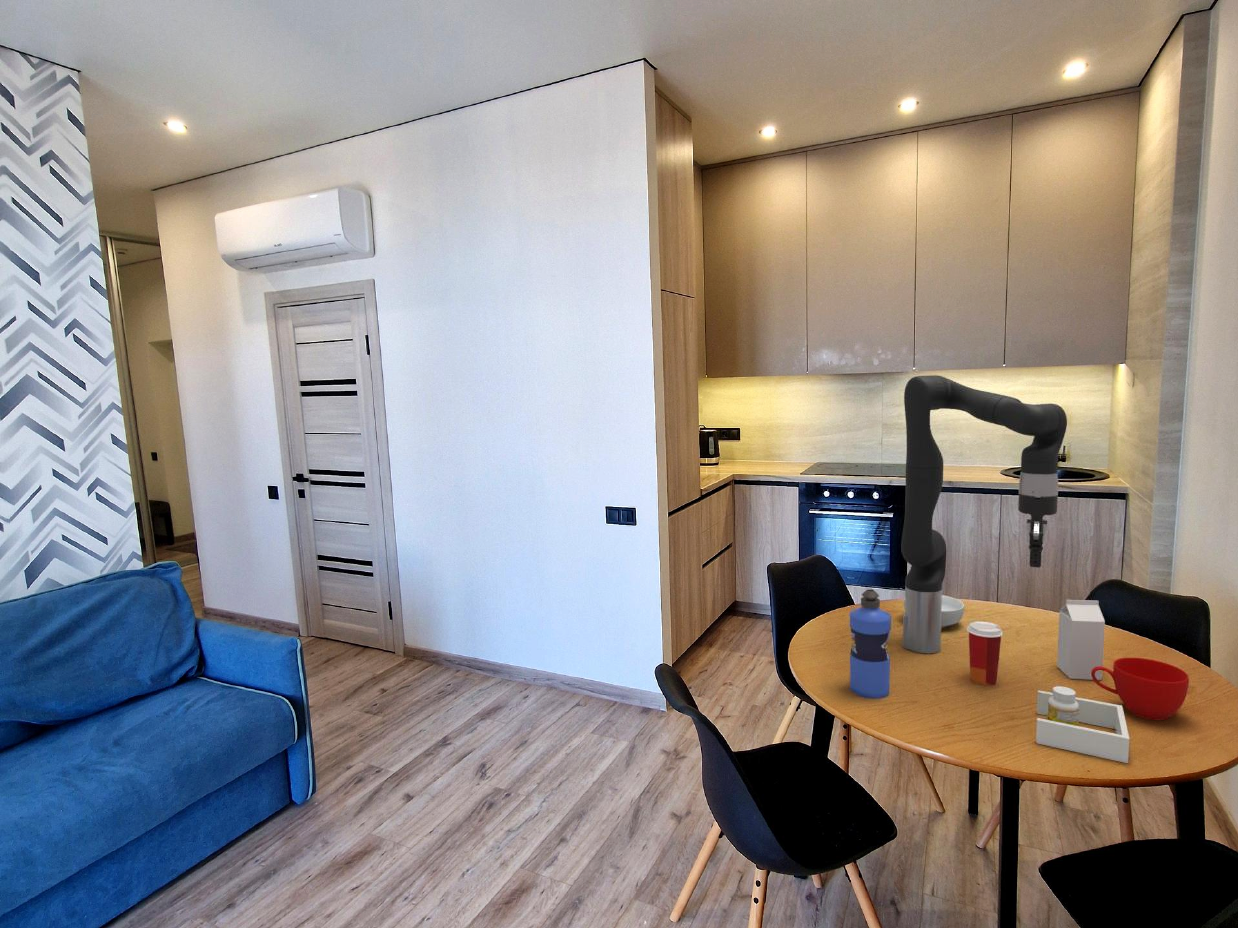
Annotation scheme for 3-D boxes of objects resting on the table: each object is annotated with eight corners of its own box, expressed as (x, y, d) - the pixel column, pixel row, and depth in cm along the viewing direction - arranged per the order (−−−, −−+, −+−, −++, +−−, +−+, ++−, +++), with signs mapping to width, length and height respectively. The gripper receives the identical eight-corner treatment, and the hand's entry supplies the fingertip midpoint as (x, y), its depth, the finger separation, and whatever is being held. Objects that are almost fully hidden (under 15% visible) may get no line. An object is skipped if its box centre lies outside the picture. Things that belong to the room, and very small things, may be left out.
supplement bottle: (1078, 743, 135) (1080, 698, 134) (1047, 736, 138) (1049, 693, 137) (1076, 730, 140) (1078, 687, 139) (1046, 725, 143) (1048, 682, 142)
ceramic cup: (1087, 690, 157) (1089, 650, 156) (1179, 706, 149) (1182, 663, 147) (1092, 715, 146) (1094, 671, 145) (1192, 733, 138) (1195, 687, 136)
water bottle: (848, 695, 159) (848, 594, 156) (850, 679, 168) (850, 583, 165) (890, 701, 156) (891, 598, 153) (890, 683, 164) (891, 586, 161)
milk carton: (1102, 680, 162) (1105, 605, 160) (1069, 679, 163) (1072, 604, 161) (1087, 668, 169) (1091, 596, 167) (1056, 666, 170) (1059, 595, 168)
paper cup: (997, 675, 167) (999, 621, 165) (1004, 689, 159) (1006, 633, 158) (962, 672, 169) (964, 619, 168) (967, 685, 162) (969, 630, 160)
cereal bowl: (960, 637, 191) (960, 613, 191) (898, 627, 201) (898, 605, 200) (966, 619, 206) (967, 596, 205) (908, 610, 215) (909, 589, 214)
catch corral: (1036, 742, 136) (1037, 719, 135) (1037, 711, 149) (1038, 690, 148) (1127, 763, 128) (1129, 738, 127) (1120, 728, 140) (1122, 705, 140)
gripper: (1019, 486, 158) (1017, 557, 160) (1017, 495, 147) (1015, 571, 149) (1057, 488, 154) (1054, 561, 156) (1058, 497, 143) (1054, 576, 145)
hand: (1035, 566), depth 153 cm, fingers closed
